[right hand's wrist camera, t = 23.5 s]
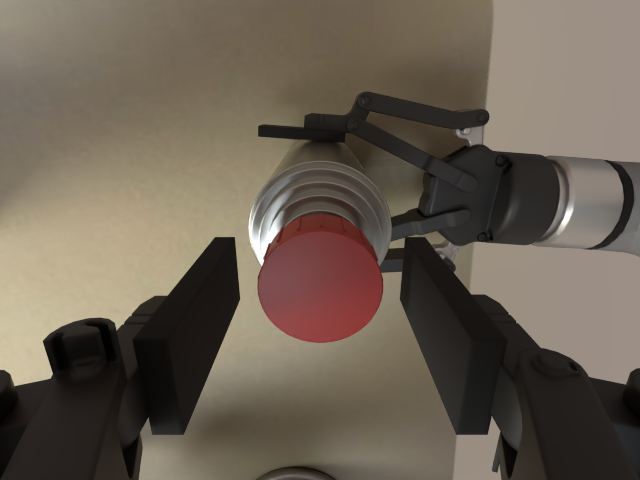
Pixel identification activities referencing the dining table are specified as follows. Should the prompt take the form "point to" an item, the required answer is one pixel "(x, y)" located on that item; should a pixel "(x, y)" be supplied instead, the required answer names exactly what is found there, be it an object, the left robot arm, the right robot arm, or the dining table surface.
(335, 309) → the cap
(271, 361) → the dining table surface
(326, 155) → the bottle
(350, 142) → the dining table surface
